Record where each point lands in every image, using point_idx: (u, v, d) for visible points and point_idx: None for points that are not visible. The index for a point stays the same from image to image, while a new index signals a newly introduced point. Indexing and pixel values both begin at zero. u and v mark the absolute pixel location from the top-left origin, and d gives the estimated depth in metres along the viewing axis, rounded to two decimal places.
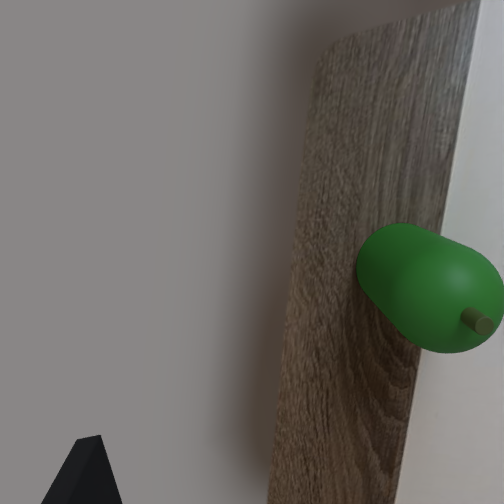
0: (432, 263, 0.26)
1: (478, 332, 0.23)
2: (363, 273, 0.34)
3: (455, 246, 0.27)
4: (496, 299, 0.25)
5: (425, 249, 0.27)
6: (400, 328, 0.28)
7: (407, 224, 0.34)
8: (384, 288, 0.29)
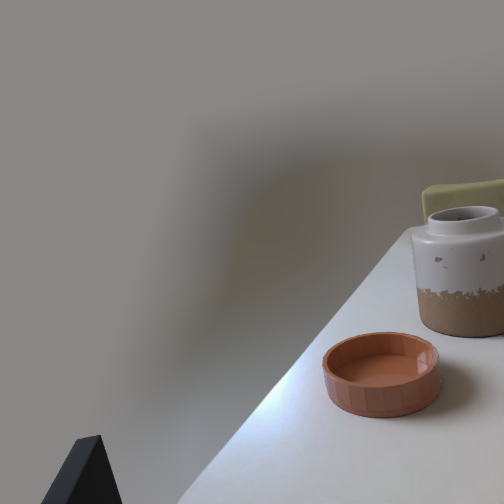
0: None
1: None
2: None
3: None
4: None
5: None
6: None
7: None
8: None
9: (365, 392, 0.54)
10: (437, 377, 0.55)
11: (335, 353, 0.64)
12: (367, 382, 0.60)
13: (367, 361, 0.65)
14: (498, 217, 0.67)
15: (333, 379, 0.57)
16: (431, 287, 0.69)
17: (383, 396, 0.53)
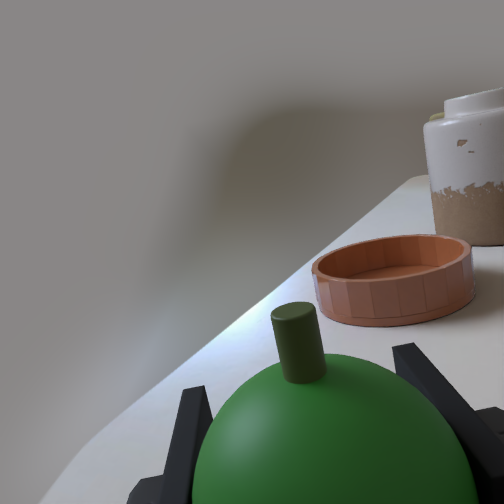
0: (197, 471, 0.11)
1: (301, 313, 0.10)
2: None
3: None
4: None
5: None
6: None
7: None
8: None
9: (371, 289, 0.38)
10: (471, 272, 0.40)
11: (329, 262, 0.48)
12: None
13: (371, 274, 0.49)
14: None
15: (326, 279, 0.41)
16: (452, 184, 0.54)
17: (397, 293, 0.37)
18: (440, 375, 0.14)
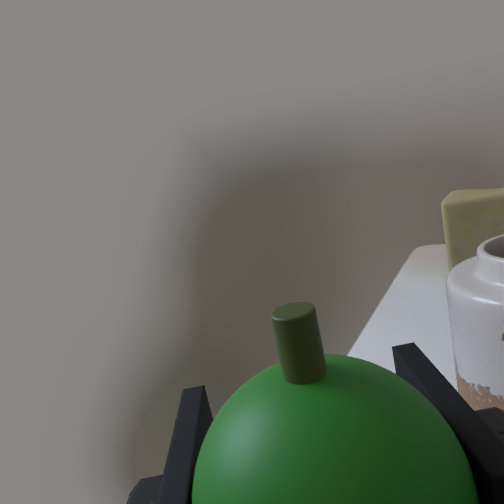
0: (196, 471, 0.11)
1: (301, 313, 0.10)
2: None
3: None
4: None
5: None
6: None
7: None
8: None
9: None
10: None
11: None
12: None
13: None
14: None
15: None
16: (492, 386, 0.36)
17: None
18: (440, 375, 0.14)
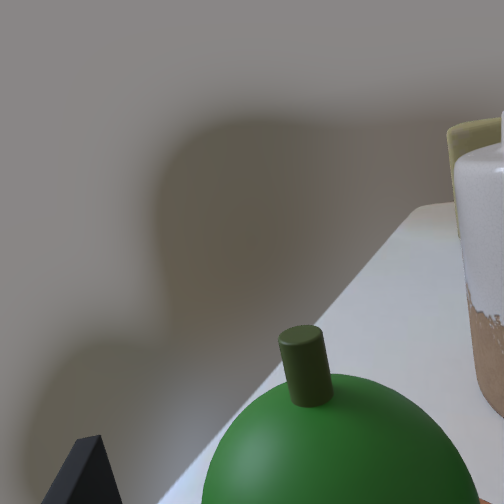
0: (205, 492, 0.11)
1: (309, 338, 0.10)
2: None
3: None
4: None
5: None
6: None
7: None
8: None
9: None
10: None
11: None
12: None
13: None
14: None
15: None
16: None
17: None
18: None
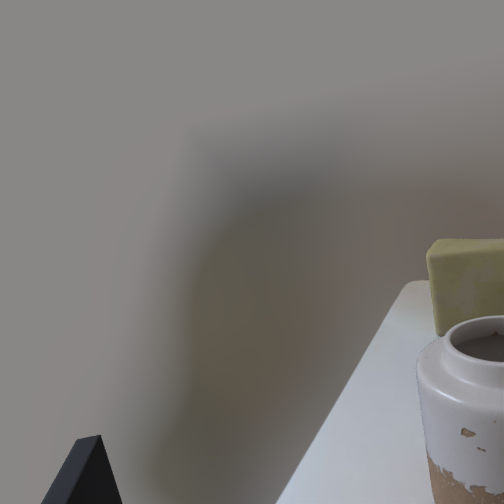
0: None
1: None
2: None
3: None
4: None
5: None
6: None
7: None
8: None
9: None
10: None
11: None
12: None
13: None
14: None
15: None
16: (454, 472, 0.39)
17: None
18: None
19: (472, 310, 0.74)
